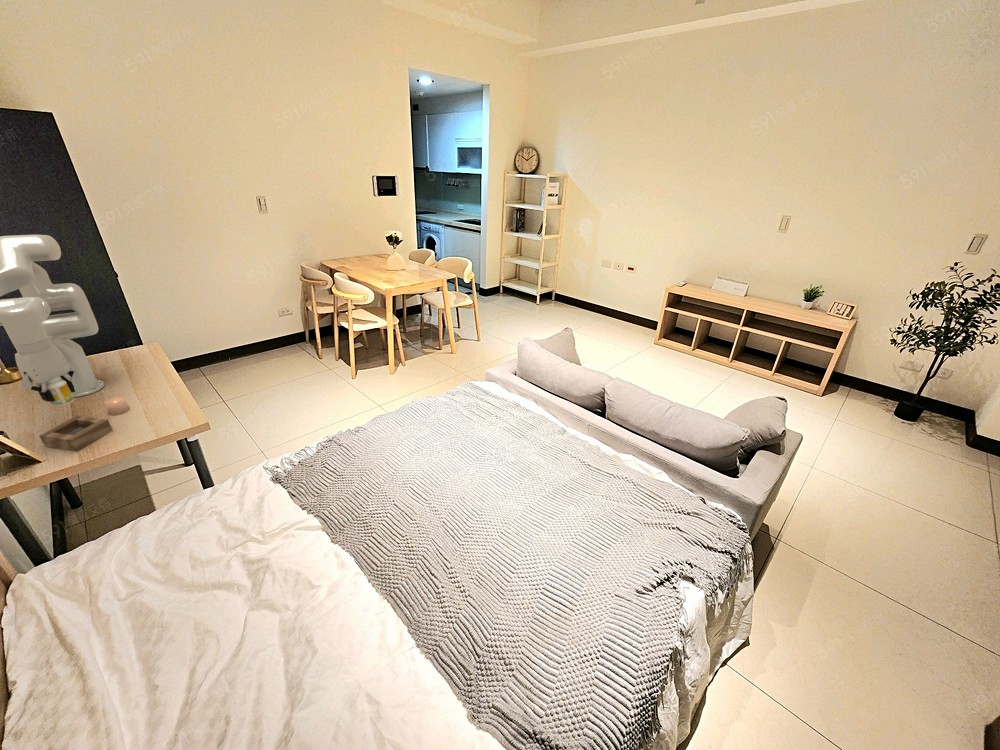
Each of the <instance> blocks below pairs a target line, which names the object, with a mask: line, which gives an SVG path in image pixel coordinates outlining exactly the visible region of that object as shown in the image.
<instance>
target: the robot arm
mask: <svg viewBox="0 0 1000 750" xmlns="http://www.w3.org/2000/svg"><path fill="white" fill-rule="evenodd" d="M61 256H62V251H61V247H60V245H59V243H58V242H57V241H56V239H55V238H54V237H52V236H51V235H48V234H19V235H18V234H17V235H16V234H15V235H13V234H12V235H2V236H0V297H2V296H5V295H7V294H9V293H11V292H15V291H17V290H19V292H20V294H21V296H22V297H13V298H4V299H3V298H2V299H0V327H1V326H3V328H4V330H5V332H6V333H7V335H8V338H9V340H10V341H11V343H12V345H13V347H14V349H16V353H15V354H14V359H15V362H16V363H15V364H16V366H17V368H18V372H19V374H20V376H21V377H22V381H21V383H20V385H19V388H20V389H23V390H24V389H25V390H31V391H35V392H38V393H39V395H40V398H41V399H42V401H45V402H50V403H51V402H54V401H55V400H54V398H53V396H52V394H51V392H50V391H49V390H47V388H46V382H47V381H50V380H52V379H54V378H56V377H59V376H60V377H61V379H62V380H65V381H66V383H67V385H68V387H69V389H70V391H71V393H72V395H73V397H74V398H79V397H83V396H87V395H92V394H93V393H94V394H95V393H96V392H98V391H100V390H102V389H104V387H105V383H104V381H103V380H101V379H97V378H96V375H95V373H94V371H93V368H92V366H91V364H90V362H89V360H88V358H87V356H86V354H85V352H84V349H83V347H82V346H81V345H80V344H78V343H77V342H75V341H74V340H72V339H77V338H84V337H89V336H93V335H96V334H97V333H98V332H99V325H98V322H97V319H96V317H95V315H94V312H93V310H92V307H91V305H90V303H89V301H88V298H87V295H86V294H85V292H84V290H83V289H82V287H80V285H78V284H76V283H72V282H66V283H55V284H54V283H52V281H51V279H50V276H49V274H48V272H47V271H46V269H45V268H43V267H42V266H41V265H39V264H38V263H35V262H44V261H45V262H46V261H58V260H59V259H60V258H61ZM67 310H73V311H74V312H68V313H66V312H65V313H57V314H51V312H58V311H59V312H60V311H67ZM31 383H33V385H31ZM101 388H102V389H101Z"/></svg>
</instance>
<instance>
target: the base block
mask: <svg viewBox="0 0 1000 750" xmlns="http://www.w3.org/2000/svg"><path fill="white" fill-rule="evenodd" d="M113 431H114V430H113V428H112V426H111V424H110V421H109V419H106V418H105V419H104V418H97V417H90V416H82V415H75V416H73V417H71V418H70V419H68V420H65V421H64V422H62V423H59V425H56V426H54V427H52V428H51V429H48V430H47V431H45V432H43V433H41V434H39V435H38V436H39V439H40V440H41V441H42V443H43V445H44V447H45V448H51V449H57V450H64V451H71V452H76V453H79V452H80V451H81V450H83V449H85V448H87V447H88V446H89V445H92V444H93V443H95V442H97V441H98V440H100V439H101V438H103V437H105V436H106V435H108V434H109V433H112V432H113Z"/></svg>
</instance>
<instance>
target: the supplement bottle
mask: <svg viewBox="0 0 1000 750" xmlns="http://www.w3.org/2000/svg"><path fill="white" fill-rule="evenodd" d="M46 388H47V390H49V391H50V392H51V394H52V396H53V398H54V400H55V401H54V402H50V404H51V405H52V406H54V407H62V406H63V407H64V406H66V405H69V404H71V403H73V402H74V401H75V397H73V395H72V393H71V391H70V389H69V387H68V385H67V383H66V381H65V380H62V379H61V377H60V376H59V377H56V378H54V379H52V380H50V381H47V382H46Z"/></svg>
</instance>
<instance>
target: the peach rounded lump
mask: <svg viewBox="0 0 1000 750" xmlns="http://www.w3.org/2000/svg"><path fill="white" fill-rule="evenodd" d="M103 404H104V406H105V408H106V410H107V412H108V414H109V416H117V415H118V416H119V415H122V414H125V413H128V412H129V410H130V406H129V404H128V401H127V399H126V397H125V395H115V396H114V395H113V396H111V397H108V398H106V399H105V400H104V401H103Z"/></svg>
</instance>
